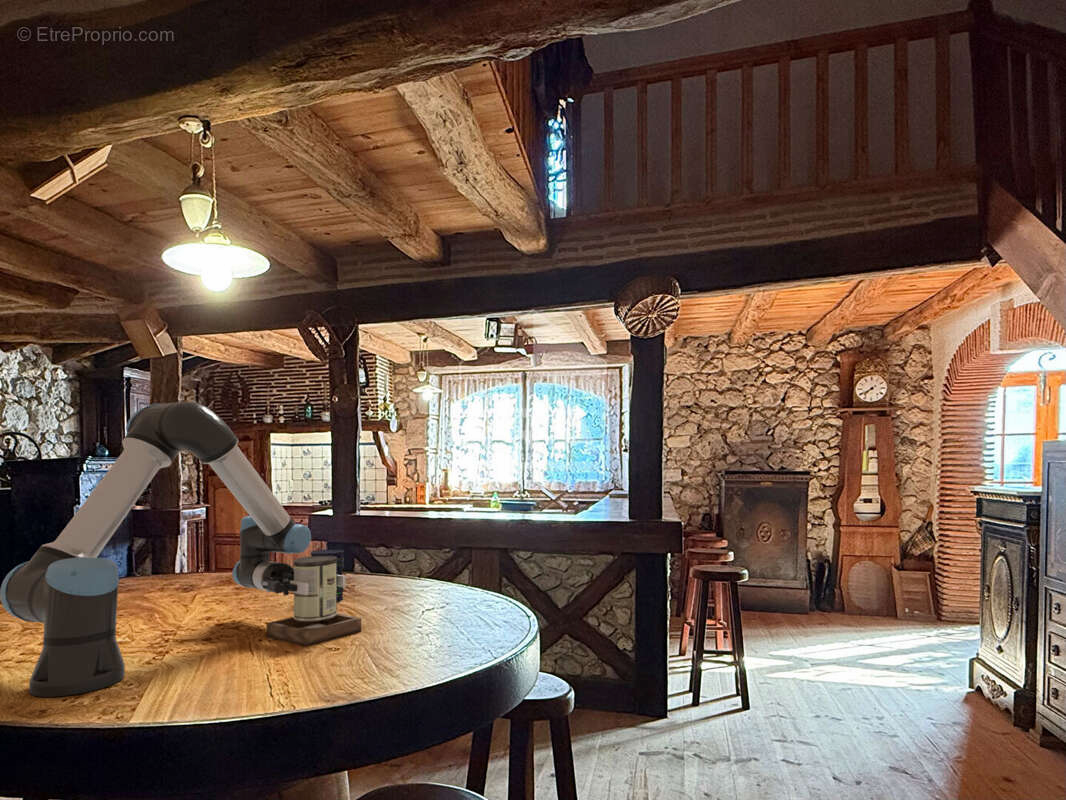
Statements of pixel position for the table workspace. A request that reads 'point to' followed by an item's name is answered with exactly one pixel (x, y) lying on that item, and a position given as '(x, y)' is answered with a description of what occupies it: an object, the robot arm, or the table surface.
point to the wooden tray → (313, 629)
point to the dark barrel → (340, 561)
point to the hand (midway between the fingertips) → (326, 585)
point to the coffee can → (316, 588)
